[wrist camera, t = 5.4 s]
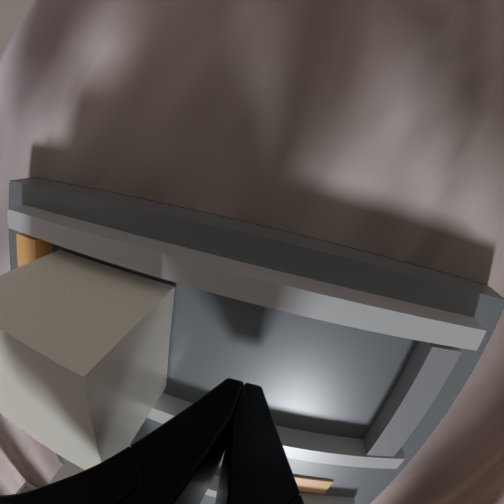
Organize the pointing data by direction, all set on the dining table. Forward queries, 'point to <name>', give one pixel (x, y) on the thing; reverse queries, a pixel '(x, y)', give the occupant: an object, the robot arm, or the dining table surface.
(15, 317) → the beige cube
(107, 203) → the switch panel
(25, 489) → the coffee box
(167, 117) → the dining table surface
